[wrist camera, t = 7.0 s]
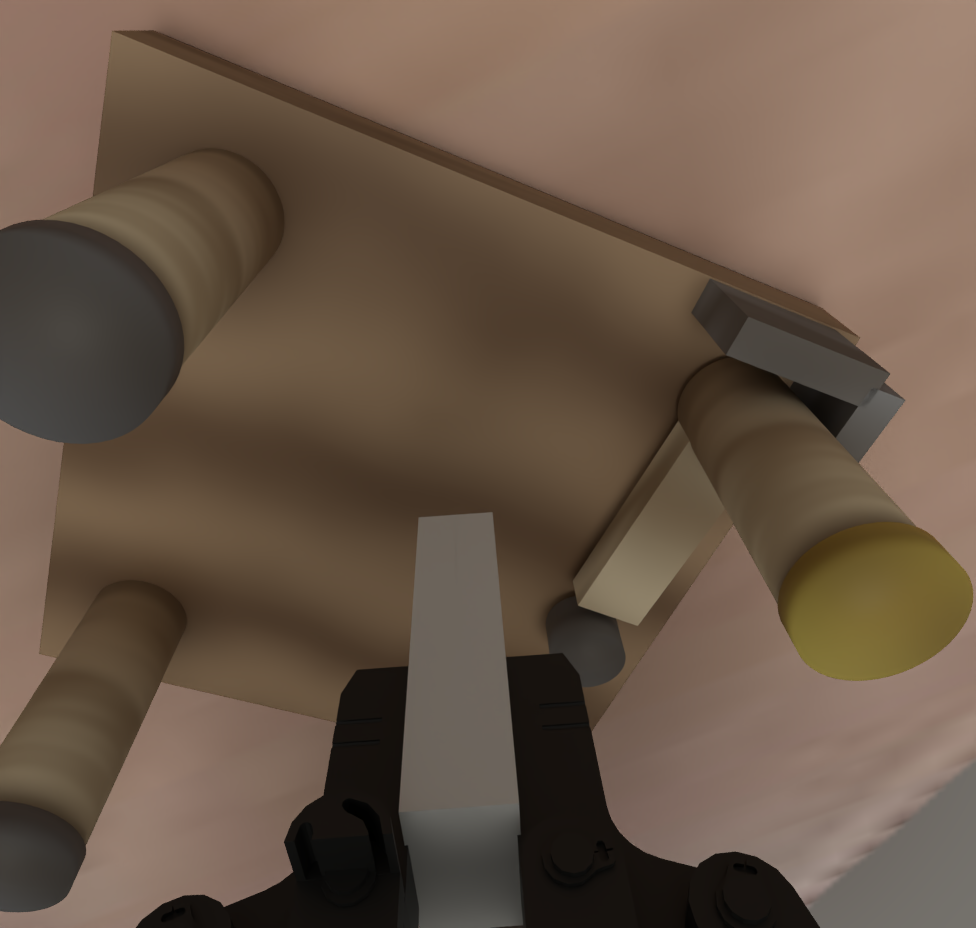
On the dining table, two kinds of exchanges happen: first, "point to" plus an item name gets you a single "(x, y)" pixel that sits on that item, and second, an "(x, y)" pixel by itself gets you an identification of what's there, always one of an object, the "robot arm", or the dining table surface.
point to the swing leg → (769, 538)
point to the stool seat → (329, 409)
